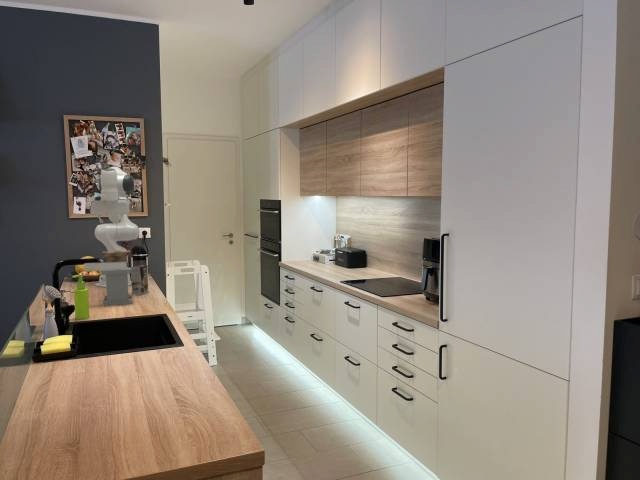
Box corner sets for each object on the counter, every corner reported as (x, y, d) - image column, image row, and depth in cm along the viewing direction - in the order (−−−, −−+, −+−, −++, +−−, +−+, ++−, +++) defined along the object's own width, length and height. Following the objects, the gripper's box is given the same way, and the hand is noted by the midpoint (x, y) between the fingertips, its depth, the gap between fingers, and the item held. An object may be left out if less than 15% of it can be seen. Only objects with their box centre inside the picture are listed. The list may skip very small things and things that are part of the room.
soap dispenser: (70, 318, 228) (68, 275, 226) (83, 315, 234) (81, 273, 232) (78, 320, 225) (76, 276, 224) (92, 317, 231) (90, 274, 230)
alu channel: (84, 271, 252) (83, 264, 252) (84, 270, 256) (84, 263, 256) (126, 269, 259) (126, 262, 259) (126, 268, 263) (126, 261, 263)
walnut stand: (104, 301, 265) (101, 253, 263) (104, 298, 272) (102, 251, 270) (132, 299, 270) (130, 251, 268) (132, 297, 277) (130, 250, 275)
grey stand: (102, 306, 255) (101, 271, 253) (103, 302, 262) (102, 268, 261) (132, 303, 260) (130, 269, 258) (132, 300, 267) (130, 267, 265)
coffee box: (143, 295, 282) (142, 266, 281) (131, 295, 283) (130, 266, 281) (148, 292, 291) (147, 264, 290) (137, 292, 292) (136, 264, 290)
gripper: (129, 197, 284) (130, 221, 285) (90, 197, 277) (91, 222, 278) (129, 197, 278) (130, 222, 279) (89, 197, 271) (90, 223, 272)
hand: (110, 222), depth 278 cm, fingers open, 8 cm apart
